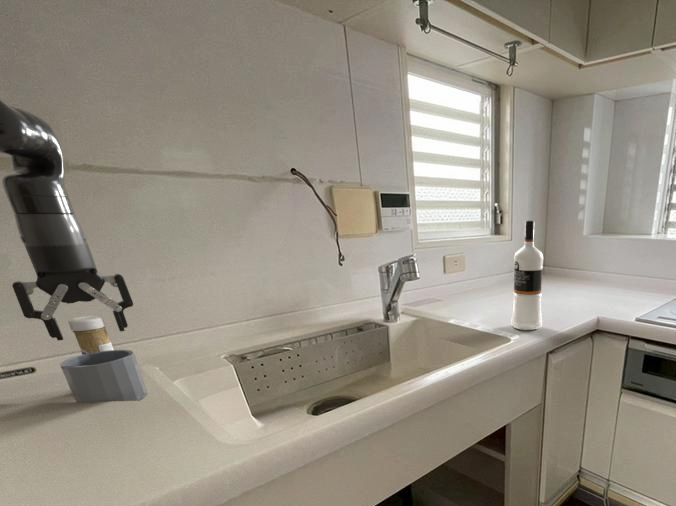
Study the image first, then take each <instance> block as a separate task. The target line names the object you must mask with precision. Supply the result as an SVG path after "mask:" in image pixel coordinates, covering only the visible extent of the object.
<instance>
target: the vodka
mask: <svg viewBox="0 0 676 506" xmlns="http://www.w3.org/2000/svg"><path fill="white" fill-rule="evenodd" d="M513 263H514V265H513V268H514V270H513V273H514V274H513V293H512V295H513V305H512V307H513V309H512V316H511V319H510V324H511V326H512V328H514V329H516V330H520V331H533V330H534V331H535V330H538V329H539V328H541V327H542V325H543V319H542V296H543V293H542V281H543V279H542V278H543V269H544V266H543V265H544V255H543V253H542V251H541V250H540V249H539V248H537V247H536V246H535V221H534V220H525V221H524V245H523V246H521V248H519V249H518V250H517V251H515V253H514V256H513Z"/></svg>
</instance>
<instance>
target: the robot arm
mask: <svg viewBox="0 0 676 506" xmlns="http://www.w3.org/2000/svg"><path fill="white" fill-rule="evenodd" d="M0 154H3V155H6V156H7V155H9V156H10V160H11V167H12V173H8V174H5V175H4V176H2V178H1V186H2V189H3V191H4V194H5V196H6V199H7V201H8V203H9V206H10V208H11V210H12V213H13V216H14V219H15V225H16V228H17V232H18V234H19V236H20V237H19V238H20V240H21V243H23V245H24V248H25V251H26V253H27V255H28V257H29V260H30V262H31V264H32V267H33V269H34V272H35V274H36V280H33V281H21V280H16V281H13V283H12V285H11V286H12V290H13V291H14V294H15V296H16V299H17V302H18V304H19V307H20V310H21V312H22V315H23V316H24V318H26V319H35V320H36V319H37V320H41V321H42V322H43V324H44V326H45V328H46V330H47V333H48V336H49V337H50V338H51V339H55V338H56V340H57V341H64V336H63V333H62V331H61V329H60V326H59V324H58V321H57V320H56V319H57V318H55V317H54V314H55V312H56V311H57V309H58V308H59V306H60V304H61V303H64V304H67V305H68V304H75V303H78V302H85V303H88V302H92V301H95V300H98V301H99V302H100V303H102V304H103V305H104V306H105V305H106V306H107V307H108V308H109V309H112V314H113V316H114V319H115V322H116V325H117V327H118V330H119V333H120V332H125V331H126V330H125V329H127V328H128V325H129V324H128V321H127V318H126V316H125V312H124V310H125V309H128V308H131V307H133V306H134V302H133V299H132V297H131V296H132V295H131V294H130V292H129V289H128V287H127V283H126V281H125V278H124V277H123V275H122V274H120V273H114V274H113V275H101V274H100V273H99V271H98V269H97V268H98V267H97V266H96V263H95V260H94V257H93V254H92V252H91V249H90V246H89V244H88V240H87V236H86V235H85V232H84V229H83V227H82V225H81V223H80V221H79V220H78V218H77V216H76V214H75V211H74V208H73V204H72V203H71V198H70V196H69V195H68V192H67V190H66V185H65V179H66V177H65V167H64V157H63V151H62V146H61V143H60V141H59V138H58V137H57V134H56V133H55V131H54V130H53V128H52V127H51V126H50V124H49V123H48V122H47V121H45V120H44V119H43V117H40V116H39V115H37V114H36V113H33V112H31V111H29V110H25V109H22V108H18V107H16V106H12V105H9V104H6V103H5V102H4V101H3V100H1V99H0ZM105 283H109V285H111V286H112V287H113V288H117V289H118V292H119V295H120V297H121V301H119V302H117V301H115V300H114V299H112V298H110V297H109V296H108V295H107V294H106V293H104V292H102V291H101V290H102V288H103V287H104V285H105ZM35 288H38V289H39V290H40V291H42V292H44V293H45V294H47V295H49V296H50V297H49V299H48V301H47V302H46V304H45V306H44V308H43V310H38V309H37V310H36V309H35V308H34V305H33V302H32V301H31V298H30V295H33V293H34V292H35Z"/></svg>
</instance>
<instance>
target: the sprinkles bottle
mask: <svg viewBox="0 0 676 506" xmlns="http://www.w3.org/2000/svg"><path fill="white" fill-rule="evenodd" d="M67 322H68V325H69V328H70V330H71V331H72V332H73V333H74V336H75V338H76V341H77V344H78V347H79V348H80V353H81V355H84V354H88V353H94V352H100V351H109V350H115V349H114V346H113V343H112V342H111V340H110V337H109V335H108V331H107V330H106V323H105V320H104V317H103V316H101V315H84V316H79V317H78V316H77V317H73V318H70V319H68V321H67Z"/></svg>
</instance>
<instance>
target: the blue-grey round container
mask: <svg viewBox="0 0 676 506" xmlns="http://www.w3.org/2000/svg"><path fill="white" fill-rule="evenodd" d="M59 365H60V366H59V367H60V369H61V371H62V373H63V375H64V377H65V380H66V382H67V384H68V388H69V389H70V392H71V394H72V396H73V399H74V401H75V403H80V404H95V403H105V402H110V403H111V402H139V401H141V400H143V399H144V398H145V397H147V395H148V389H147V387H146V384H145V381H144V377H143V375H142V372H141V369H140V366H139V363H138V360H137V358H136V354H135V353H134V352H133V350H130V349H114V350H109V351H100V352H94V353H88V354H84V355H82V354H81V355H80V354H79V355H77V356H76V355H75V356H72V357H69V358H67V359H65V360H63V361H62V362H60V363H59Z"/></svg>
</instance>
